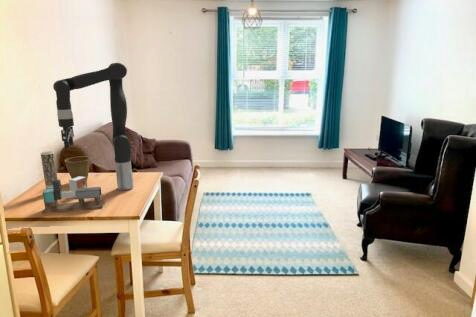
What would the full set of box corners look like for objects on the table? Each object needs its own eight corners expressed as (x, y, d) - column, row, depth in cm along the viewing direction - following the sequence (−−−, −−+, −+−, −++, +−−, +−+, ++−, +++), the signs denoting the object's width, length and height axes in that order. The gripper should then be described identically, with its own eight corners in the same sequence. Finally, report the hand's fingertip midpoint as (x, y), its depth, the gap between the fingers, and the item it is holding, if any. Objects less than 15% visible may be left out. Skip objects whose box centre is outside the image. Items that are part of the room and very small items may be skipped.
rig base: (105, 201, 196) (104, 192, 194) (101, 208, 186) (100, 198, 185) (49, 206, 191) (47, 196, 189) (42, 213, 181) (41, 202, 180)
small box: (78, 198, 202) (76, 180, 200) (70, 197, 204) (68, 179, 202) (88, 193, 210) (86, 176, 207) (81, 192, 212) (79, 176, 209)
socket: (57, 198, 188) (56, 188, 187) (54, 202, 183) (52, 192, 182) (47, 199, 188) (46, 189, 186) (44, 202, 182) (42, 192, 181)
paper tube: (54, 195, 208) (48, 154, 202) (44, 194, 209) (37, 153, 203) (61, 191, 214) (56, 151, 208) (52, 191, 216) (46, 151, 210)
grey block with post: (88, 195, 190) (86, 177, 188) (87, 197, 186) (84, 179, 184) (51, 198, 187) (48, 180, 185) (48, 200, 183) (45, 182, 181)
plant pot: (64, 182, 232) (61, 159, 229) (87, 177, 242) (84, 155, 238) (72, 187, 222) (69, 163, 218) (96, 182, 231) (93, 158, 228)
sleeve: (101, 194, 192) (100, 186, 191) (99, 197, 187) (98, 189, 186) (78, 196, 190) (77, 188, 189) (75, 199, 185) (74, 191, 184)
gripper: (69, 119, 186) (73, 149, 190) (76, 115, 200) (79, 143, 203) (53, 119, 185) (58, 149, 189) (62, 116, 198) (65, 144, 202)
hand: (69, 146), depth 196 cm, fingers open, 8 cm apart
